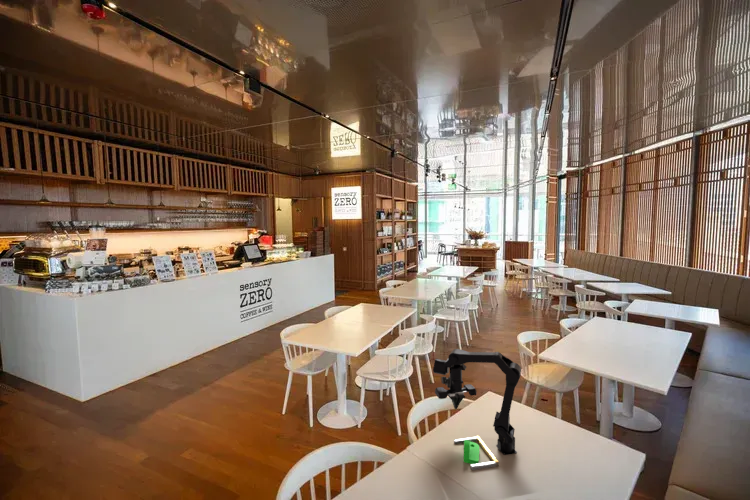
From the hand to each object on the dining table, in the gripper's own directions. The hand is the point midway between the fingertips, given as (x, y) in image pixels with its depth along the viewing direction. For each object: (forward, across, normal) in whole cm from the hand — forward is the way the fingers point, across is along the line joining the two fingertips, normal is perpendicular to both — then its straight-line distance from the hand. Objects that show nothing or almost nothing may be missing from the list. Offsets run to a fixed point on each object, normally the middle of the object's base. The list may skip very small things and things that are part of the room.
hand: (455, 408), depth 157 cm
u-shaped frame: (+13, -3, +14) cm, 19 cm away
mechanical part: (+13, -1, +14) cm, 20 cm away
